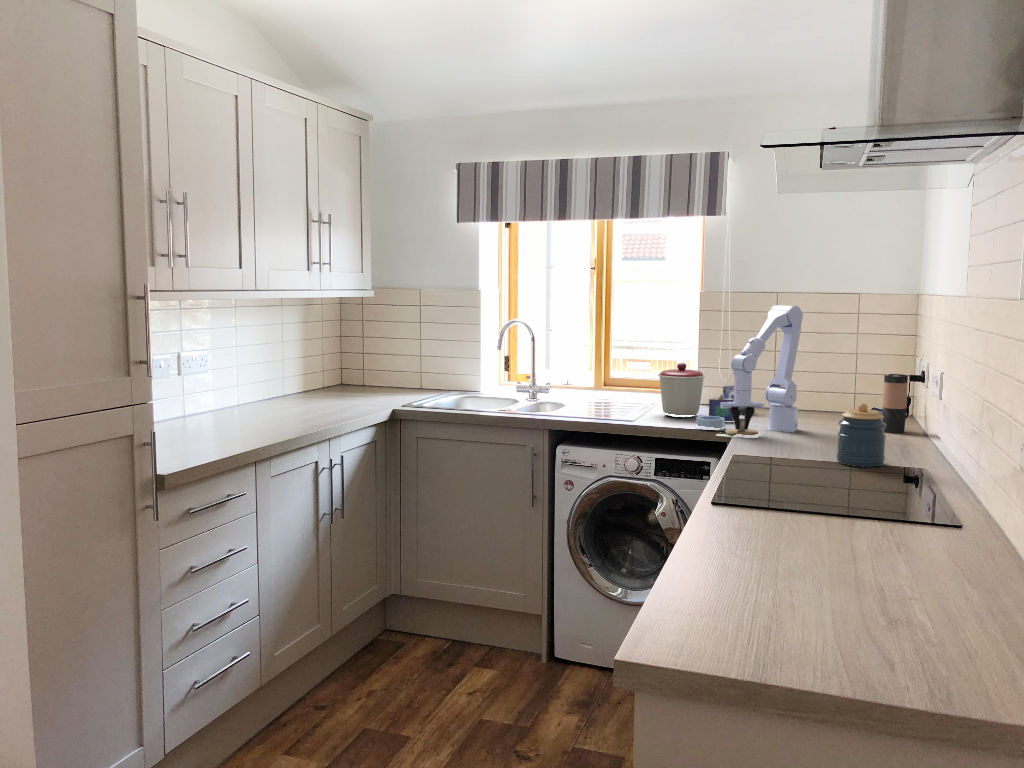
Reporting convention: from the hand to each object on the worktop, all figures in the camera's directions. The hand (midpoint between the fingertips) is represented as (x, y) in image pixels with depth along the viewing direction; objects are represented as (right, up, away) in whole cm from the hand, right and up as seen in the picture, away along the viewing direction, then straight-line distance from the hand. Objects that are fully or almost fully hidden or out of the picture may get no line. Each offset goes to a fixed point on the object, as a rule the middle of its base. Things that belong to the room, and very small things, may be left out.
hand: (741, 429), depth 297 cm
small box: (+11, +4, +49) cm, 51 cm away
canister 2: (+22, -8, -46) cm, 51 cm away
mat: (0, -2, 0) cm, 2 cm away
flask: (-1, +1, +26) cm, 26 cm away
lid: (0, -2, 0) cm, 2 cm away
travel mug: (+55, -1, +6) cm, 55 cm away
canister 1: (-13, +3, +40) cm, 43 cm away
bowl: (-8, -1, +12) cm, 15 cm away
